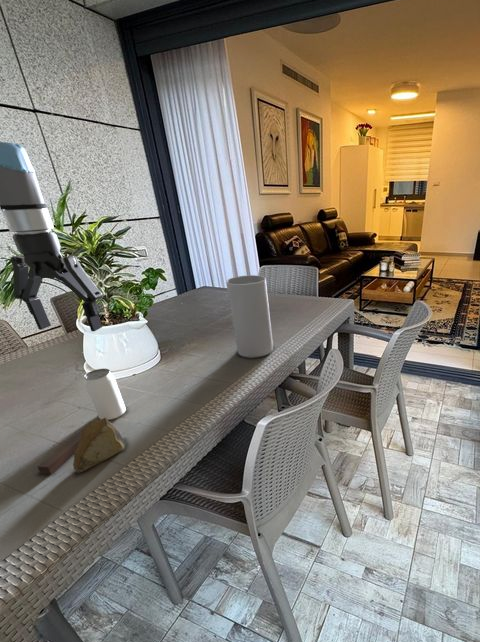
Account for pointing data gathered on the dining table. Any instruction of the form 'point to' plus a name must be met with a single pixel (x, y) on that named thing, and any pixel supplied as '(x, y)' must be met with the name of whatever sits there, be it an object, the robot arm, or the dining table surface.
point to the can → (104, 394)
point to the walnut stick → (61, 454)
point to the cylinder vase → (250, 315)
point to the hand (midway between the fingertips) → (70, 328)
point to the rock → (97, 444)
